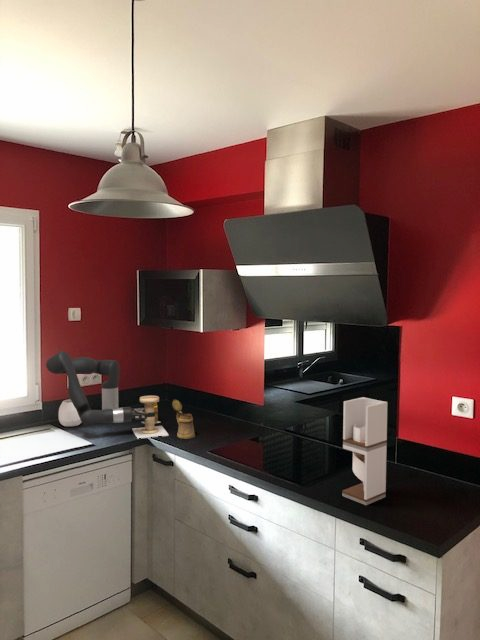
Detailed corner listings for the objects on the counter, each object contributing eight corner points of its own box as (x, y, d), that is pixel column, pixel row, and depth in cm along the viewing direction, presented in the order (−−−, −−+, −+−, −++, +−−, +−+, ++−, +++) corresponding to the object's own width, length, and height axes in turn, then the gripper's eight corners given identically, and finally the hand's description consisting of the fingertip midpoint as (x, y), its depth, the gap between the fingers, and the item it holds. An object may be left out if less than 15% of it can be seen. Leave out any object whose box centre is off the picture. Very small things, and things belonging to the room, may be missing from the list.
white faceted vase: (64, 429, 277) (64, 404, 277) (54, 424, 287) (54, 400, 286) (88, 425, 286) (87, 401, 285) (77, 420, 296) (77, 397, 295)
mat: (132, 429, 278) (132, 428, 278) (161, 426, 284) (161, 425, 283) (137, 438, 261) (137, 437, 261) (168, 435, 267) (168, 434, 267)
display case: (361, 488, 199) (363, 397, 196) (385, 497, 190) (387, 402, 188) (342, 495, 191) (343, 401, 189) (366, 505, 183) (367, 406, 181)
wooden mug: (180, 431, 275) (180, 397, 274) (198, 436, 266) (198, 401, 265) (167, 434, 268) (167, 400, 267) (185, 440, 259) (185, 404, 258)
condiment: (160, 422, 293) (160, 401, 292) (148, 425, 287) (147, 403, 286) (153, 419, 298) (153, 399, 297) (140, 422, 292) (140, 401, 291)
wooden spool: (138, 430, 275) (138, 396, 274) (157, 428, 279) (157, 394, 277) (141, 435, 266) (141, 400, 265) (161, 433, 269) (160, 398, 268)
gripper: (123, 410, 260) (156, 408, 265) (120, 404, 273) (151, 402, 279) (123, 425, 260) (156, 422, 266) (120, 418, 274) (151, 416, 279)
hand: (153, 412), depth 272 cm, fingers open, 8 cm apart
